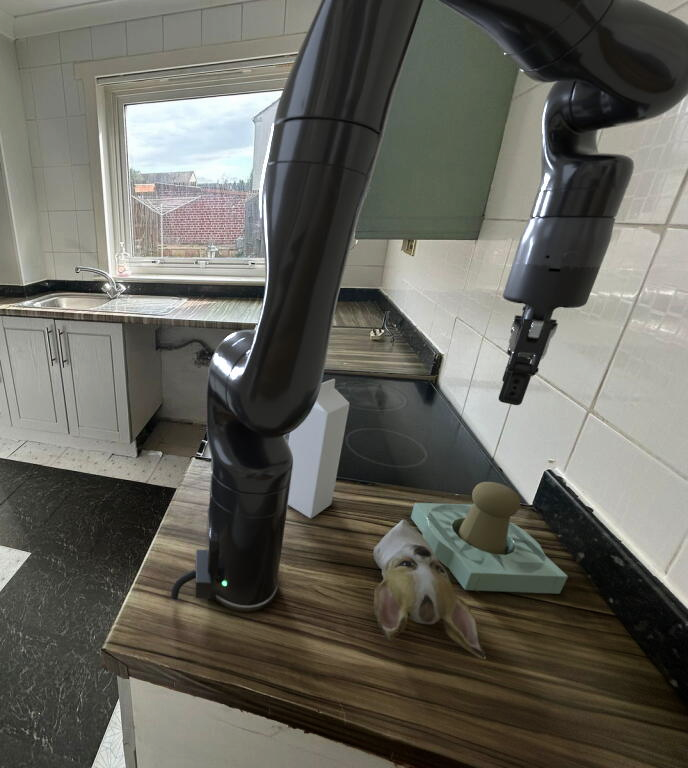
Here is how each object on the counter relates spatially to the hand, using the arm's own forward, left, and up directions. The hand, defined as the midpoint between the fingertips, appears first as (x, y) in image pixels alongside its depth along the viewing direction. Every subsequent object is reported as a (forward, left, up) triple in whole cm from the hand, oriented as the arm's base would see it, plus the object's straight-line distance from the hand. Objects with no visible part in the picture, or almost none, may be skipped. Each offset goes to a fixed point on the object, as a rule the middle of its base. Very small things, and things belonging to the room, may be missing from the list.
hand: (510, 392), depth 52 cm
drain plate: (+1, -2, -24) cm, 24 cm away
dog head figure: (-13, -12, -24) cm, 30 cm away
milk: (-21, +8, -24) cm, 33 cm away
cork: (+1, -2, -24) cm, 25 cm away
